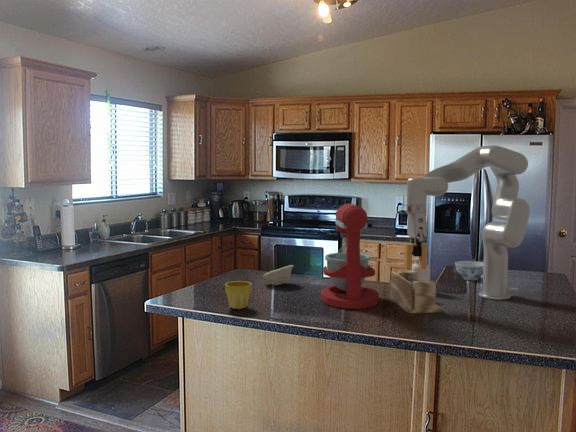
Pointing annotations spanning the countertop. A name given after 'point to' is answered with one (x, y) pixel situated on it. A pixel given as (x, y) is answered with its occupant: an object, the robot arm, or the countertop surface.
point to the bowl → (279, 275)
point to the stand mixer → (349, 264)
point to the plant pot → (238, 293)
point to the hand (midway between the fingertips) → (415, 254)
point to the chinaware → (469, 269)
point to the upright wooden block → (408, 256)
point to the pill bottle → (421, 271)
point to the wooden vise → (413, 292)
